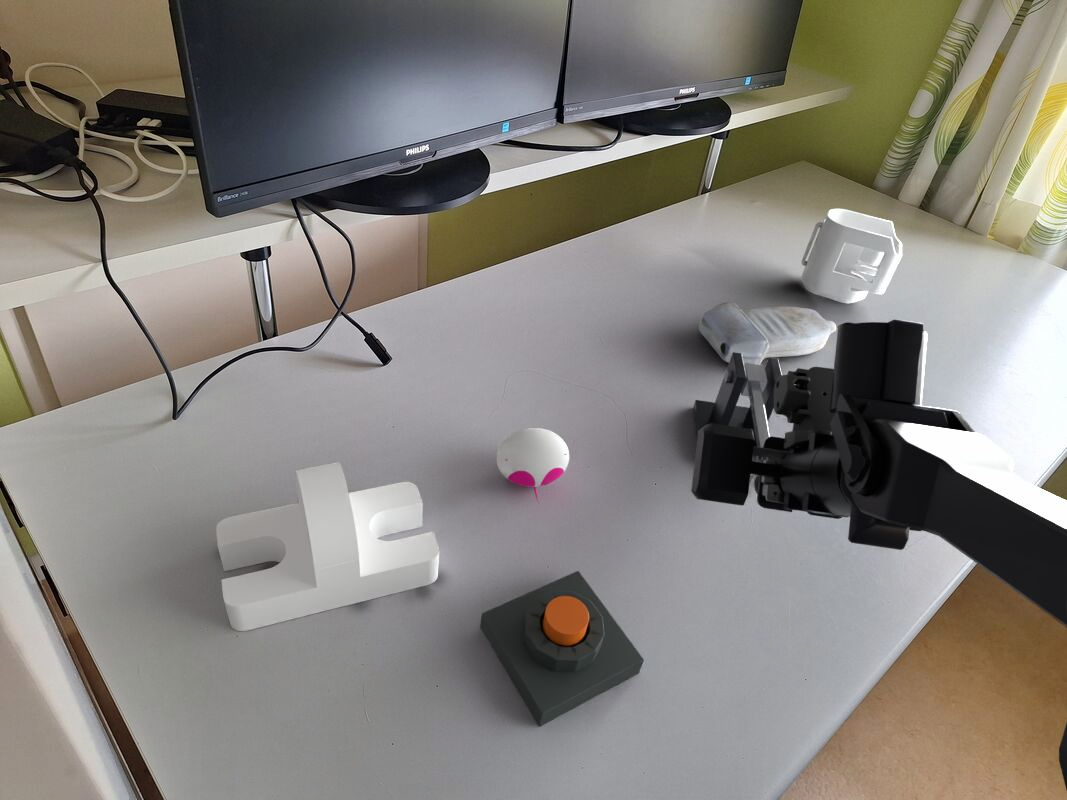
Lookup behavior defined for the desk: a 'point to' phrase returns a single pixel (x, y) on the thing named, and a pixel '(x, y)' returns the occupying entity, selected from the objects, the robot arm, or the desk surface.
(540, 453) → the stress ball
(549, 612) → the button
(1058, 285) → the desk surface
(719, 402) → the bracket
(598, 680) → the button box
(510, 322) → the desk surface
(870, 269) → the white plastic holder
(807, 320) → the handheld device
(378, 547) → the white slotted mount
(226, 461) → the desk surface
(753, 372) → the lever
